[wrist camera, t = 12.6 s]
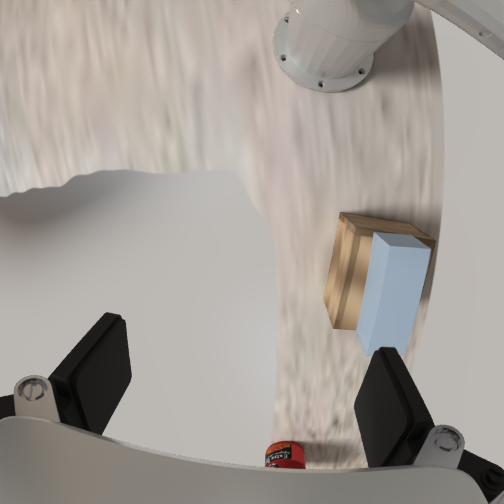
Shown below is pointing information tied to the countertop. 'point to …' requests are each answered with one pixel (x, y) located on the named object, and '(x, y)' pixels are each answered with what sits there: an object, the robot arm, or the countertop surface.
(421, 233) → the cubby
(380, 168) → the countertop surface
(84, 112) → the countertop surface
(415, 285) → the bar
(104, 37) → the countertop surface
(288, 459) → the canned food
